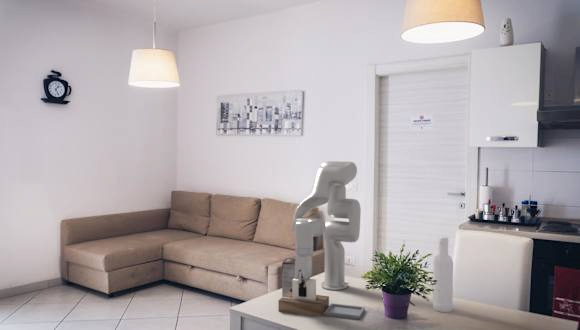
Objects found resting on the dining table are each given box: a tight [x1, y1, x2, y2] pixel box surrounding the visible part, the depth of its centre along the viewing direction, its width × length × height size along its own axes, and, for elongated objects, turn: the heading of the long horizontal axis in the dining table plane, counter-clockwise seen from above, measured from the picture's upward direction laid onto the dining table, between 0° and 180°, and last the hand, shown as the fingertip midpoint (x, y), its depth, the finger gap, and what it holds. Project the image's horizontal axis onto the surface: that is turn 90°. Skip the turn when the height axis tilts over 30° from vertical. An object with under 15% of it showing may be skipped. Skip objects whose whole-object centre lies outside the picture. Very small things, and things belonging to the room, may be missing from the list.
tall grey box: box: [281, 257, 296, 298], centre depth 215 cm, size 9×6×16 cm
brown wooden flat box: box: [278, 292, 330, 317], centre depth 198 cm, size 12×18×5 cm, turn 70°
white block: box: [292, 278, 317, 301], centre depth 198 cm, size 4×9×12 cm, turn 70°
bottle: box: [432, 235, 454, 313], centre depth 197 cm, size 8×8×30 cm
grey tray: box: [323, 302, 366, 321], centre depth 193 cm, size 11×14×2 cm
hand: (304, 294), depth 198 cm, fingers closed on white block, 4 cm apart
